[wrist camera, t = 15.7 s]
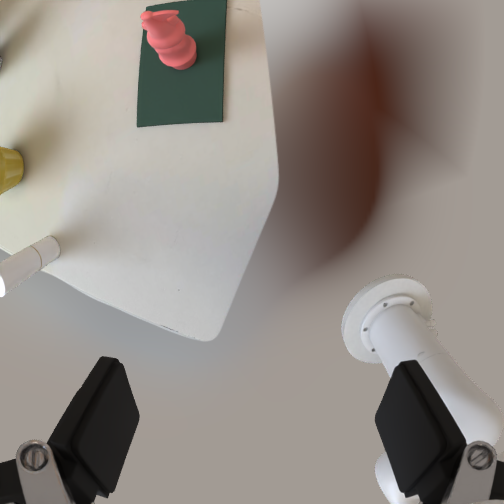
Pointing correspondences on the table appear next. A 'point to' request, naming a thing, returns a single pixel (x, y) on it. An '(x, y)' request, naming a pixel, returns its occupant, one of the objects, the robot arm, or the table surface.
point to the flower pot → (10, 168)
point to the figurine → (169, 38)
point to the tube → (27, 263)
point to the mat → (185, 70)
